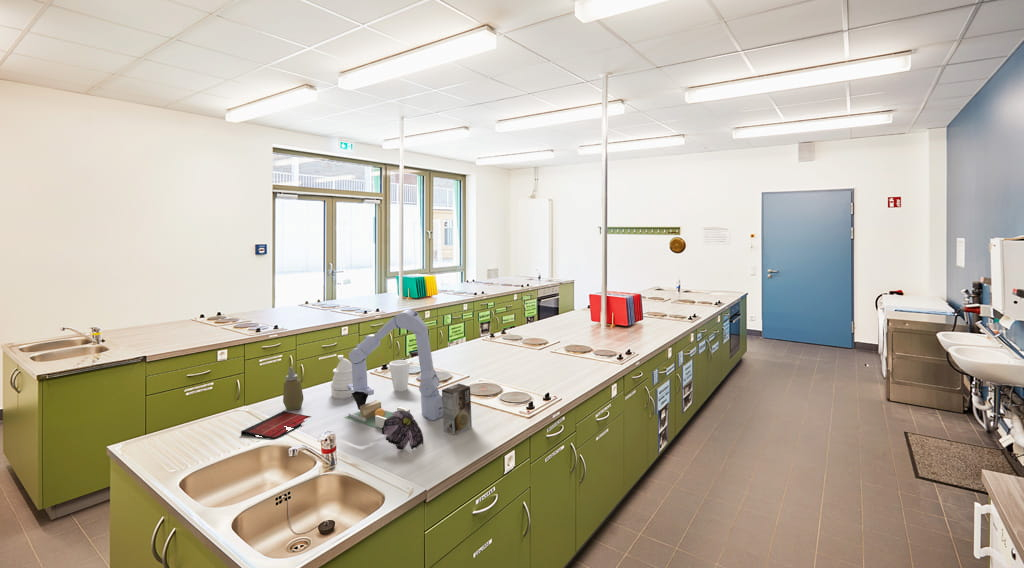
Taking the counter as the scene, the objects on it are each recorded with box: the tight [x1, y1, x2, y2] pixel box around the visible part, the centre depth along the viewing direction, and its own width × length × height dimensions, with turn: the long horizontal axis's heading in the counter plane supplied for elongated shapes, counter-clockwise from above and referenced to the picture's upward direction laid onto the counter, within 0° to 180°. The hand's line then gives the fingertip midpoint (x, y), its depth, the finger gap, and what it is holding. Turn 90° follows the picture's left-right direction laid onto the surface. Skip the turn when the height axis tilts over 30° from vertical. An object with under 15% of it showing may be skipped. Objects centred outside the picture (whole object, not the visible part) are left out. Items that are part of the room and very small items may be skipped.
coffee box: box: [441, 383, 473, 436], centre depth 178 cm, size 9×6×16 cm
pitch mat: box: [343, 409, 393, 431], centre depth 189 cm, size 25×14×2 cm, turn 55°
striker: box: [359, 400, 382, 419], centre depth 192 cm, size 3×8×5 cm, turn 145°
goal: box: [375, 406, 411, 428], centre depth 184 cm, size 6×12×4 cm, turn 145°
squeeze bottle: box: [282, 366, 305, 411], centre depth 204 cm, size 8×8×18 cm
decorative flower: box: [381, 410, 424, 451], centre depth 167 cm, size 14×12×15 cm
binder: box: [240, 411, 312, 440], centre depth 185 cm, size 16×2×21 cm
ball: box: [375, 408, 386, 417], centre depth 189 cm, size 4×4×4 cm
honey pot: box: [330, 354, 354, 399], centre depth 222 cm, size 13×13×18 cm
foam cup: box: [388, 359, 411, 392], centre depth 227 cm, size 10×9×13 cm
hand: (361, 409), depth 195 cm, fingers closed
